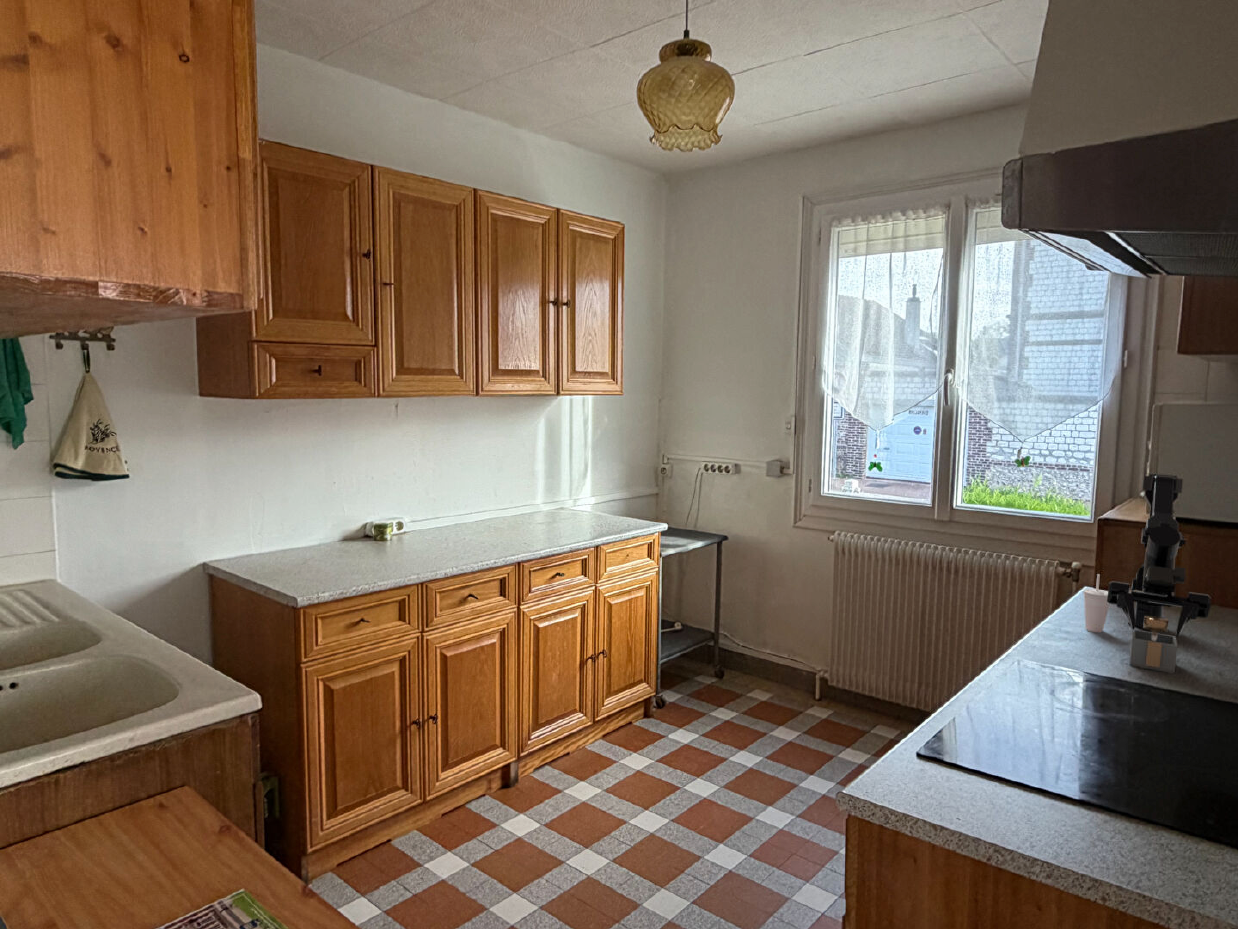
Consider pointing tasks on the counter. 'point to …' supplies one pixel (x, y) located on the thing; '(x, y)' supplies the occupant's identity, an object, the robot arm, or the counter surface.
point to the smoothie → (1095, 608)
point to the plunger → (1155, 625)
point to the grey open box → (1153, 651)
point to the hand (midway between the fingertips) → (1155, 632)
